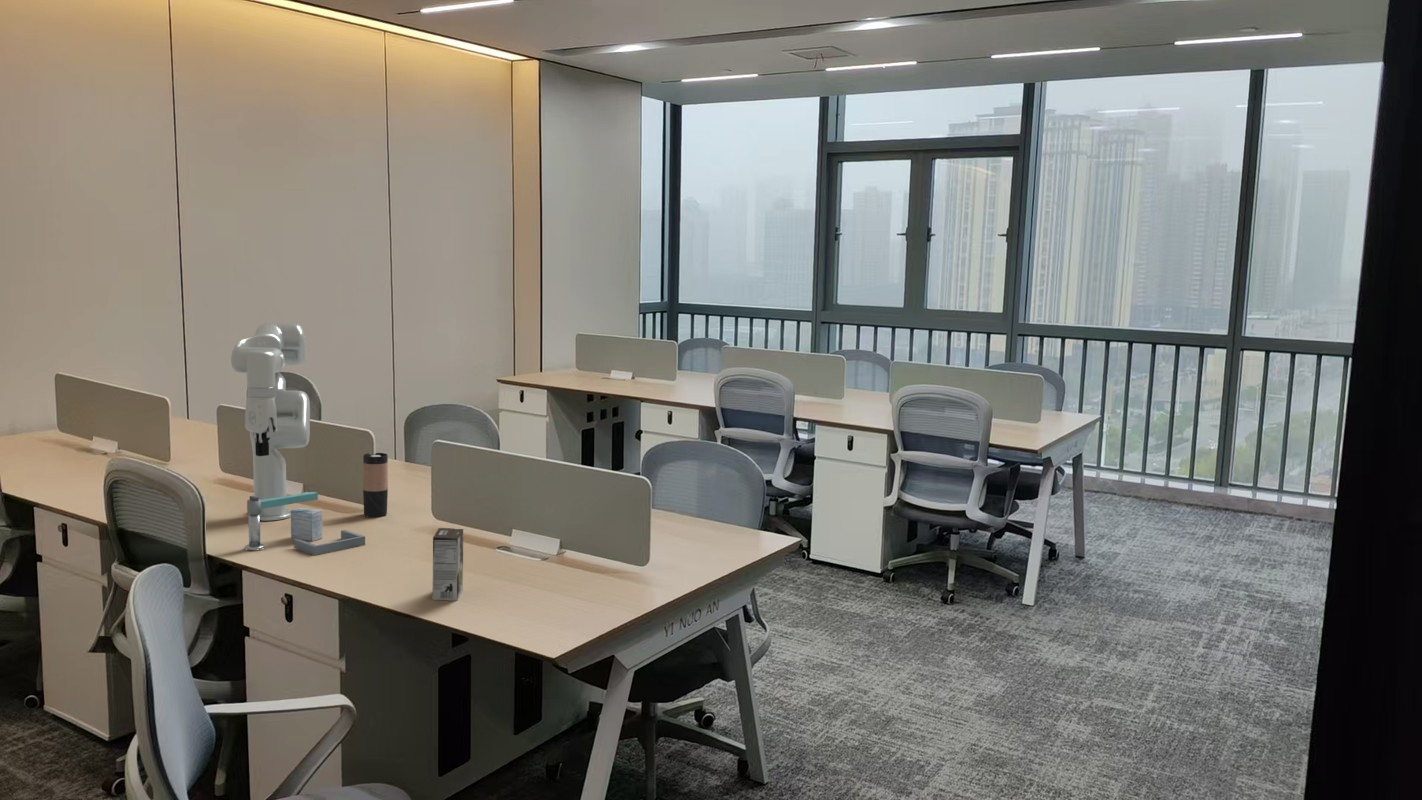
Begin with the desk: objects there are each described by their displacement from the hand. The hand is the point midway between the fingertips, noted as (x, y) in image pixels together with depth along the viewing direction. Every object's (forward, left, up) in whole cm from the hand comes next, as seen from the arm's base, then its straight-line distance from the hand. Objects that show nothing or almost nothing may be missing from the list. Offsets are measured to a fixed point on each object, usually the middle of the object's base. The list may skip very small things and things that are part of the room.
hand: (262, 455), depth 298 cm
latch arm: (+8, +2, -15) cm, 17 cm away
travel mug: (-3, +40, -25) cm, 47 cm away
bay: (+20, +9, -25) cm, 33 cm away
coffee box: (+79, +5, -25) cm, 83 cm away
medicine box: (+8, +9, -25) cm, 28 cm away
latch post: (+8, -7, -25) cm, 27 cm away
